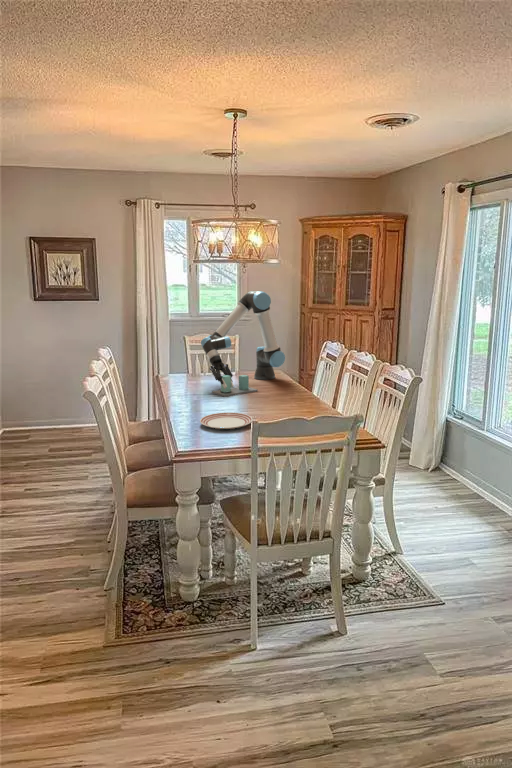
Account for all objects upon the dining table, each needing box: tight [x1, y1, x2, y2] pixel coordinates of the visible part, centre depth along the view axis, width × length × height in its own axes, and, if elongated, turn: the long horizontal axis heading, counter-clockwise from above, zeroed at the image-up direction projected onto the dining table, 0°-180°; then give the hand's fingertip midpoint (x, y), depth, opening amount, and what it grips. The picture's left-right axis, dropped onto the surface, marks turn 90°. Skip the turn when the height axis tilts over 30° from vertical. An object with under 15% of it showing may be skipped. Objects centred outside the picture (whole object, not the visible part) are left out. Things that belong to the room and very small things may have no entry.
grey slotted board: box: [211, 386, 258, 398], centre depth 384 cm, size 26×14×1 cm, turn 127°
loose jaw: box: [220, 374, 232, 393], centre depth 379 cm, size 5×5×10 cm
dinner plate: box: [199, 412, 254, 430], centre depth 309 cm, size 28×27×3 cm
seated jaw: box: [238, 374, 250, 390], centre depth 387 cm, size 5×5×10 cm
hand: (229, 387), depth 376 cm, fingers closed on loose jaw, 5 cm apart
